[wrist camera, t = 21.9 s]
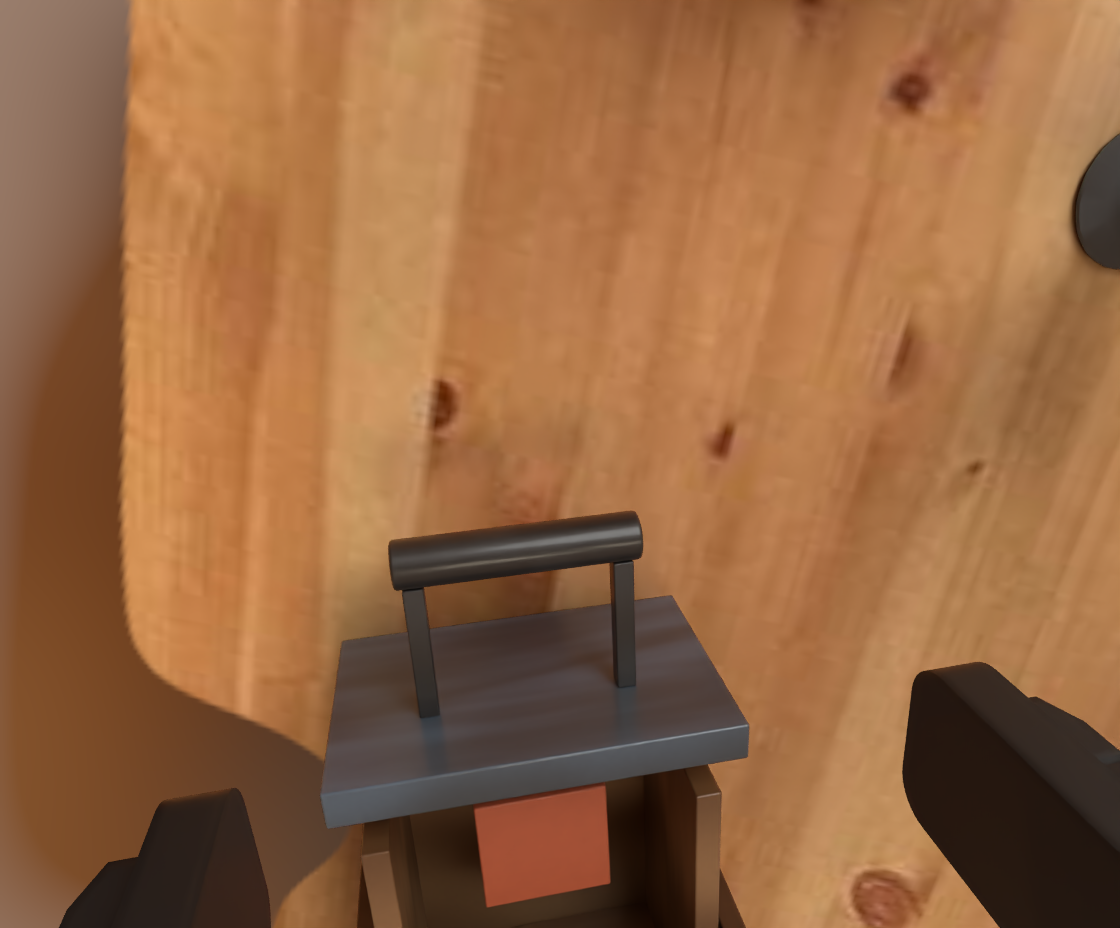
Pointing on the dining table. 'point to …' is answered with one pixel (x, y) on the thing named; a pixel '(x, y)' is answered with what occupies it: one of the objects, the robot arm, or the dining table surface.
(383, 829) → the drawer
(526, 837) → the block
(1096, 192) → the sundae
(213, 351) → the dining table surface
